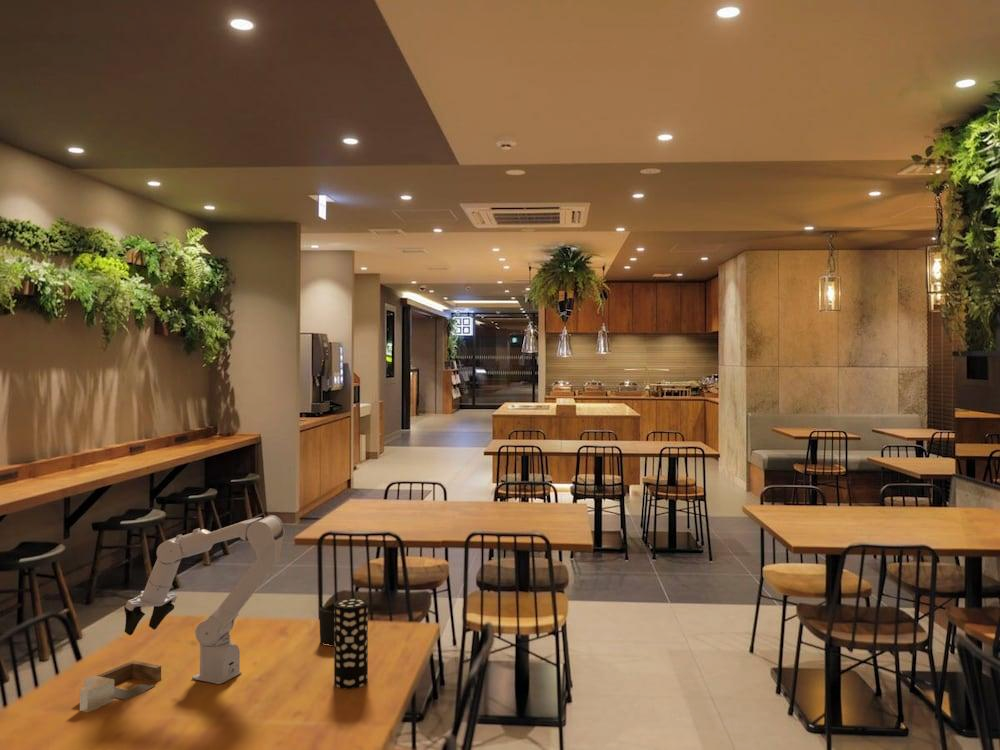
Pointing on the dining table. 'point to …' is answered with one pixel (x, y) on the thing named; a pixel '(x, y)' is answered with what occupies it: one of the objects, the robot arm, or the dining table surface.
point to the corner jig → (134, 672)
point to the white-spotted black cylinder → (350, 643)
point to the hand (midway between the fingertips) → (140, 630)
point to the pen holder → (327, 624)
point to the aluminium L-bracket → (96, 693)
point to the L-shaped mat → (131, 691)
